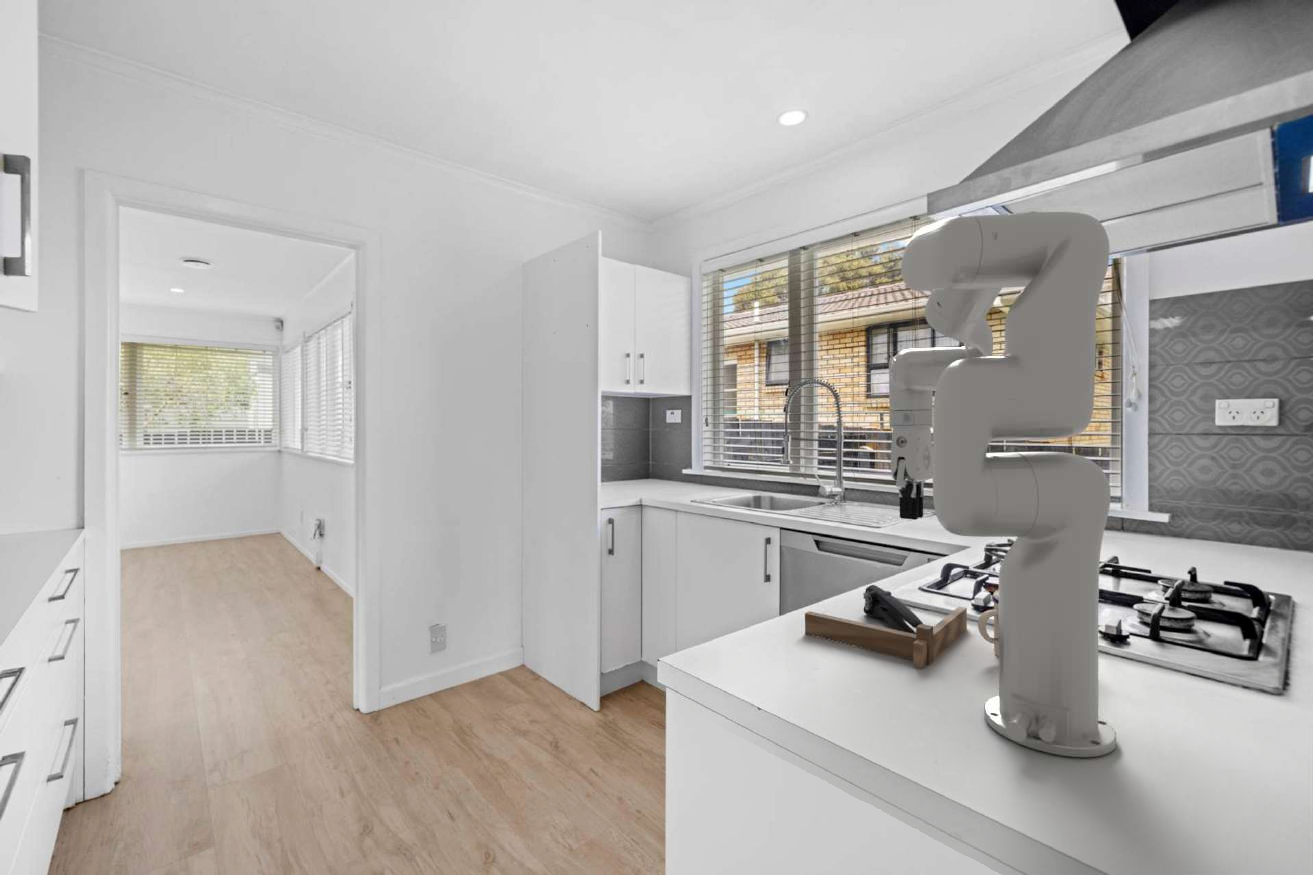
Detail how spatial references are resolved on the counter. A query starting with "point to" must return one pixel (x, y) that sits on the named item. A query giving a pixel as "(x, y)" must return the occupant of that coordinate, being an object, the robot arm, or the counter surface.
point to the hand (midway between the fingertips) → (911, 517)
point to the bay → (891, 635)
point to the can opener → (889, 609)
